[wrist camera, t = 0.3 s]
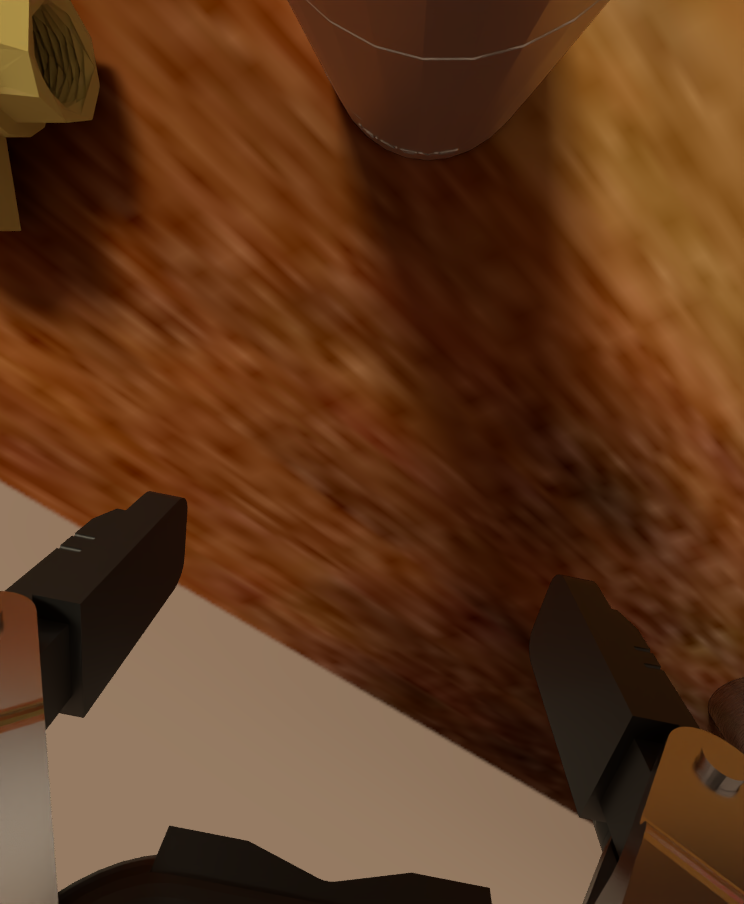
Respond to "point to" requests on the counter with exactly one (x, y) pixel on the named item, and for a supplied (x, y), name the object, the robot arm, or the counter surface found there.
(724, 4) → the counter surface
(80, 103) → the ball valve
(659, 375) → the counter surface
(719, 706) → the white cylinder peg
